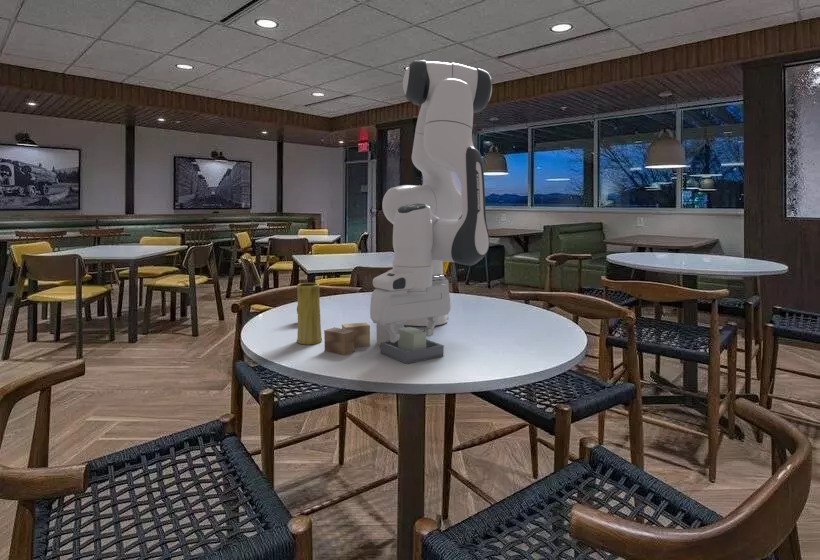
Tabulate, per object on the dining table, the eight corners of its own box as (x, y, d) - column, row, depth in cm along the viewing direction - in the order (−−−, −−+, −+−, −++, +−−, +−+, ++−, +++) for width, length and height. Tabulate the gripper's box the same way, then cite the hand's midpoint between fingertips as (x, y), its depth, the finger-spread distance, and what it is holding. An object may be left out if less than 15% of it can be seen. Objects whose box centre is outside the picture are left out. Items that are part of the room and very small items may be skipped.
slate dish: (380, 352, 118) (380, 342, 118) (416, 346, 124) (416, 336, 124) (406, 364, 110) (406, 352, 110) (443, 356, 116) (443, 345, 116)
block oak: (345, 348, 123) (345, 327, 122) (342, 344, 126) (341, 324, 125) (369, 345, 125) (369, 325, 124) (365, 342, 128) (365, 322, 127)
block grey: (386, 346, 124) (386, 326, 124) (376, 343, 127) (376, 323, 126) (403, 341, 129) (404, 322, 128) (394, 339, 131) (394, 320, 130)
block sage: (397, 350, 119) (398, 328, 118) (410, 347, 121) (410, 326, 120) (413, 356, 114) (413, 334, 113) (426, 353, 116) (426, 332, 115)
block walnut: (324, 351, 120) (324, 330, 119) (334, 348, 123) (334, 327, 122) (344, 355, 116) (344, 334, 116) (354, 352, 119) (354, 330, 119)
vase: (310, 346, 124) (308, 287, 122) (291, 342, 127) (289, 284, 125) (326, 340, 129) (326, 283, 127) (308, 337, 132) (307, 281, 130)
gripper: (439, 273, 124) (438, 329, 126) (366, 279, 112) (366, 342, 113) (457, 276, 119) (455, 335, 121) (382, 283, 106) (382, 348, 108)
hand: (411, 338), depth 117 cm, fingers open, 8 cm apart
